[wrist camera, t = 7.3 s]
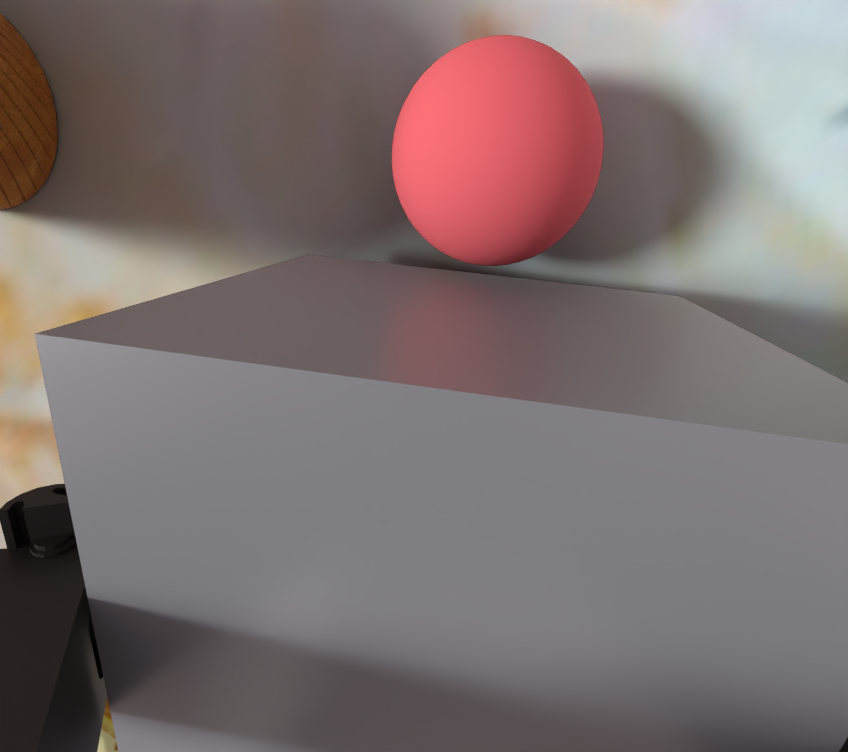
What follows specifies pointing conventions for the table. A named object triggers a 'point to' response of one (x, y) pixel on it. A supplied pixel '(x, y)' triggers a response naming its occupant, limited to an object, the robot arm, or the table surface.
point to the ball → (497, 150)
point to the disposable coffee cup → (23, 120)
